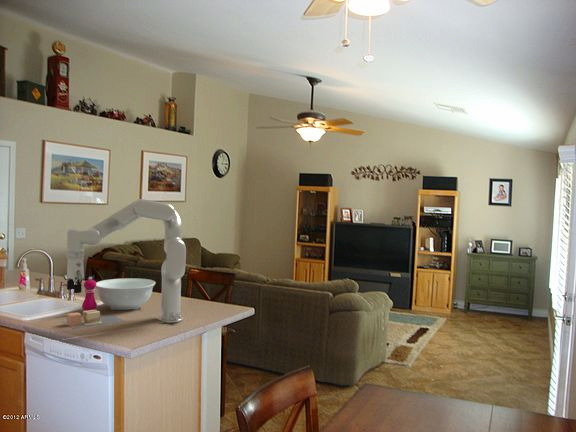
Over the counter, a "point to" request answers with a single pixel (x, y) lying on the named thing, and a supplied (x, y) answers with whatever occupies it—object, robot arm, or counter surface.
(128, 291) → the bowl
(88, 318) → the maple block
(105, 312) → the counter surface
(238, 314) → the counter surface
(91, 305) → the pepper mill
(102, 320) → the board
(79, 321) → the terracotta cube
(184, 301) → the counter surface
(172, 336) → the counter surface
